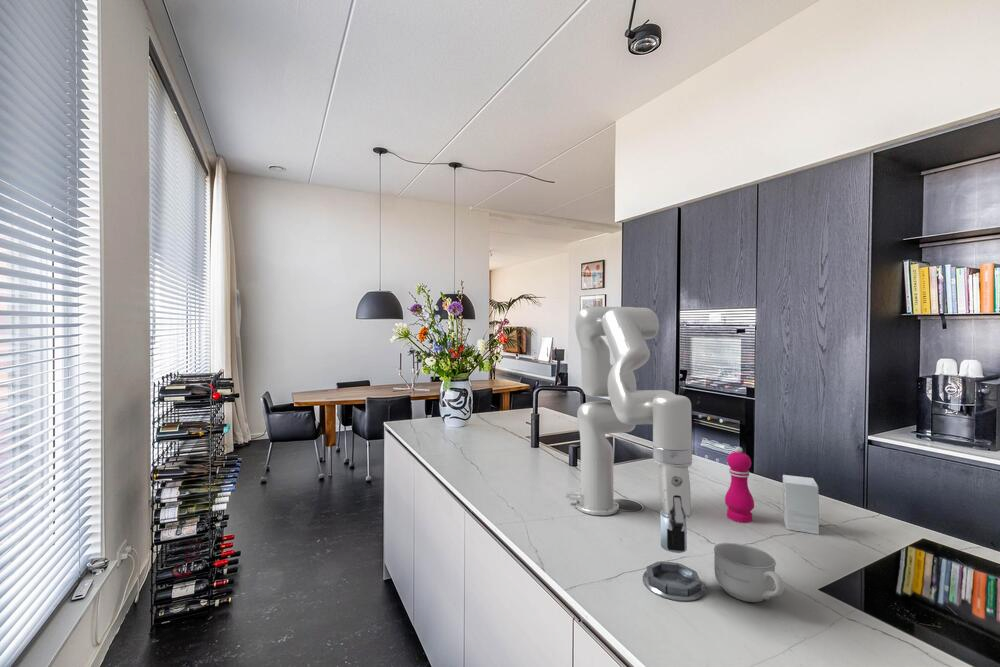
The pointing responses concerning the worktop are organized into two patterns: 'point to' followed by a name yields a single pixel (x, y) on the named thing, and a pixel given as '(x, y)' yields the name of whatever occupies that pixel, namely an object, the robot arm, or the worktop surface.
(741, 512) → the pepper mill
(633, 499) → the worktop surface
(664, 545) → the grey domed cylinder
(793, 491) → the supplement box
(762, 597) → the teacup
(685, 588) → the faceted metallic bowl
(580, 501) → the robot arm
